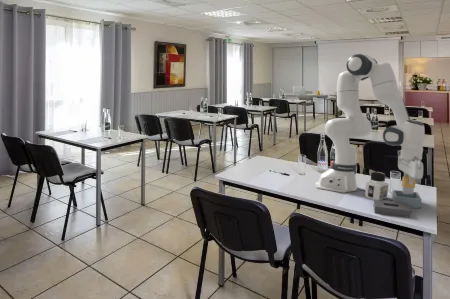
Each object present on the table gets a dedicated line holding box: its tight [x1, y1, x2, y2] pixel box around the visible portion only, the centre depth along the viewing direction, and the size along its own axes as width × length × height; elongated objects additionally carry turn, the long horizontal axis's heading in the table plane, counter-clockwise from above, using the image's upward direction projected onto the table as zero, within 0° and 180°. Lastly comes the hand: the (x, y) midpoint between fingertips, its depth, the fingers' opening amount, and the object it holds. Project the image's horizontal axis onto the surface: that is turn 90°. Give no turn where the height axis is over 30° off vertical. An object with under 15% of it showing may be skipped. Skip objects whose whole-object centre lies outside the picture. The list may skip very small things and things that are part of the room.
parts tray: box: [391, 189, 423, 209], centre depth 164 cm, size 11×11×4 cm
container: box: [364, 171, 389, 201], centre depth 171 cm, size 8×8×13 cm
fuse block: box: [372, 199, 411, 218], centre depth 154 cm, size 14×10×3 cm
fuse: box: [401, 175, 417, 194], centre depth 163 cm, size 5×2×8 cm, turn 80°
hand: (408, 183), depth 162 cm, fingers closed on fuse, 2 cm apart
